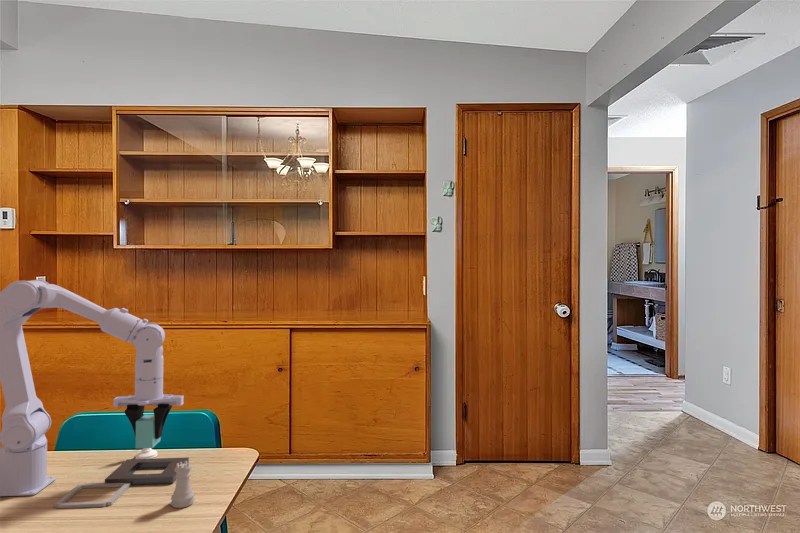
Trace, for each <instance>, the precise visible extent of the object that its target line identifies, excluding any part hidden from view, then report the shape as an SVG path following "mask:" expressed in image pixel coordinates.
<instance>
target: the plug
mask: <svg viewBox="0 0 800 533" xmlns="http://www.w3.org/2000/svg"><path fill="white" fill-rule="evenodd" d="M161 438H162V436H161V437H160V438H159V439H155V417H154V414H143V416H142V417H141V418H140V419H138V420H137V421H136V438H135V449H143V448H152V449H154V448H155V446H156V445H157V444H158V443H160V442H161V441H162V440H161Z"/></svg>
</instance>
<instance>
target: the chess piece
mask: <svg viewBox="0 0 800 533" xmlns="http://www.w3.org/2000/svg"><path fill="white" fill-rule="evenodd" d="M157 456H158V451H157V450H155V449H153V448H141V450H140V451H138V452H136V454H135V457H136V458H135V459H155V458H156V457H157Z"/></svg>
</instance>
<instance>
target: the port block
mask: <svg viewBox="0 0 800 533" xmlns="http://www.w3.org/2000/svg"><path fill="white" fill-rule="evenodd" d="M184 461H187V464H188V462H190V458H189V457H164V458H158V457H157V458H151V459H136V458H134V459H133V458H132V459H131V458H129V459H126V460H125V461H124V462H123V463H122V464H120V465H119V466H118V467H117V468H116V469H115V470H114V471H112V472H111V473H110V474H109V475H108V476H107V477H106V478H105V479H104V483H131V486H145V485H146V486H148V485H173V484H174V483H175V482H176V478H175V476H176V475H177V473H176V472H175V471H174V469H175V467H176V464H177V463H179V462H182V464H184ZM146 469H148V470H149V469H150V470H151V469H164V470H163V471H161V473H160V472H159V473H136V474H134V473H135V472H136V471H138V470H146Z"/></svg>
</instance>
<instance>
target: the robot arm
mask: <svg viewBox="0 0 800 533" xmlns="http://www.w3.org/2000/svg"><path fill="white" fill-rule="evenodd" d="M51 308H53V309H55V308H59V309H63V310H66V311H69V312H71V313H73V314H75V315H79V316H81V317H83V318H86V319H88V320H91V321H94V322H95V323H98V326H99V328H100V331H101V332H102V333H105V334H108V335H110V336H113V337H115V338H117V339H119V340H121V341H124V342H127V343H128V344H131V343H132V345H133V347H134V348H135V352H136V354H135V356H136V357H135V360H134V362H135V363H134V364H135V366H134V367H135V368H134V369H135V370H134V395H124V396H123V395H121V396H116V397H115V398H113V406H112V407H113V408H119V407H126V409H124V415H125V416H126V417H127V419H128V421H129V423H130V424H131V427H132V431H133V434H134V438H135V439H136V421H137V420H138V419H140V418H141V417H142V416H144V413H145V407H147V406H149V407H151V406H152V407H154V406H155V408H153V415H154V417H155V439H159V438H160V437H161V438H162V436H163V429H164V426H165V424H166V420H167V419H168V416H169V413H170V411H171V409H172V408H173V406H176V407H181V406H183V405H184V399H185V398H184V397H185V396H184V394H183V395H182V394H181V395H180V394H178V395H177V394H168V393H167V394H164V357H165V356H164V355H163V353H164V347H163V346H164V345H163V343H164V341H165V338H166V332H165V330H164V328H163V327H162V326H160V325H159V324H158V323H156V322H149V319H147V318H143V319H141V318H140V317H137V316H135V315H133V314H131V313H129V309H127V308H125V307H122V308H118V307H113V308H111V309H110V308H109V309H106V308H104V307H102V306H100V305H98V304H96V303H94V302H92V301H90V300H89V299H87V298H85V297H82V296H81V295H79V294H77V293H74V292H72V291H70V290H68V289H66V288H64V287H63V286H60V285H57V284H53V283H49V282H48V281H46V280H43V279H32V280H16V281H13V282H11V283H10V284H8V285H6V287H4V288H3V289H2V290H1V291H0V385H1V388H2V394H3V399H4V402H5V408H4V410H3V413H2V416H1V423H2V424H1V425H2V427H1V430H0V444H1V446H0V497H17V496H18V497H20V496H35V495H36V494H38V493H39V492H40V491H42V490H43V489H44V488H47V486H49V485H50V484H51V483H53V482H54V481H56V480H57V477H56V476H48V438H47V437H46V433H47V432H48V431H49V430H50V428H51V426H52V419H51V416H50V414H49V413H48V411H46V409H45V408H44V405H43V401H41V399H40V398H38V397H37V393H36V388H35V383H34V379H33V378H34V377H33V374H32V370H31V364H30V359H29V353H28V350H27V345H26V339H25V334H24V330H23V325H24V324H25V323H26V322H27V321H28V320H29V319H30V318H31V317H32V316H33V315H34V314H35V313H36V312H38V311H40V310H42V309H51ZM156 406H157V407H156Z"/></svg>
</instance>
